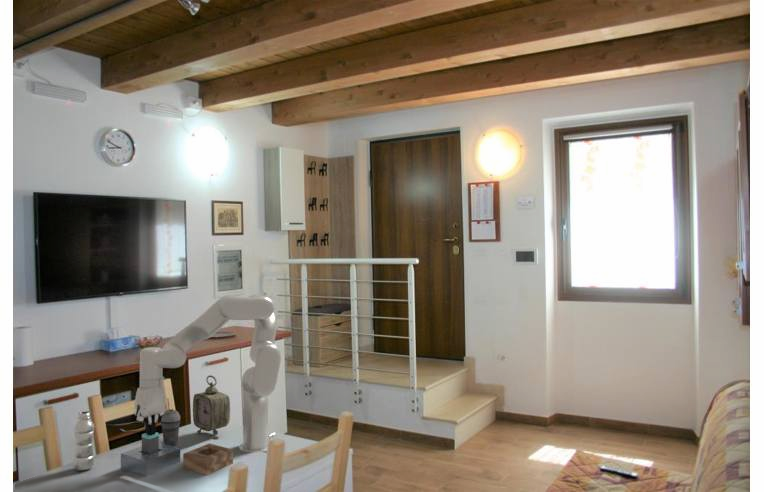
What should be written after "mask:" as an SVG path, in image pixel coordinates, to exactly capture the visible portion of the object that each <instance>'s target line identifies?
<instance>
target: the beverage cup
mask: <svg viewBox="0 0 764 492" xmlns="http://www.w3.org/2000/svg"><path fill="white" fill-rule="evenodd" d="M170 407H171V406H170V398H169V397H168V398H167V410H165V411H164V414H163V415H161V417H160V419H161V420H160V424H161V429H162V430H161V431H162V441H163V442H162V443H163V444H166V445H170V446H173V447H177V448H178V443H179V434H180V433H179V430H180V425H181V420H182V419H181V415H180V413H179V411H177V410H175V409H171V408H170Z"/></svg>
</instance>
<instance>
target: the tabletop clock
mask: <svg viewBox="0 0 764 492" xmlns="http://www.w3.org/2000/svg"><path fill="white" fill-rule="evenodd" d="M209 378H212V379H213V380H214V381H215V382H214V383H215V384H214V383H213V382H212V381H211V382H209V380H208V379H209ZM205 379H206V383H207V385H209V386H208V387H206V389H205V390H204V391H203V392H199V393H195V394H194V395H193V401H192V402H193V403H192V420H193V425H194V426H195V427H196V428H198V430H197V431H196V434H198V435H200V434H201V433H202V431H205V432H212V436H211V440H214V441H215V440H216V438H217V437H216V435H217V434H218V433H219V431H218V429H219V430H220V429H223V428H225V427H227V426H228V425H229V423H230V420H231V400H230V396H228V395H227V394H226V393H223V392H220V391H218V388H217V387H216V385H217V378H216V377H215V376H213V375H211V374H210V375H207V377H206V378H205Z"/></svg>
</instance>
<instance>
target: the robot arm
mask: <svg viewBox="0 0 764 492" xmlns="http://www.w3.org/2000/svg"><path fill="white" fill-rule="evenodd" d="M230 320H231V321H245V320H246V321H251V320H252V321H253V322H254V329H253V336H252V340H251V345H250V350H249V357H250V359H251V361H252V362H253V363H254V366H251V367H249V368H247V369H246V370H245V371H244V372H243V375H242V377H241V389H242V402H243V404H242V405H243V406H242V443H241V444H239V446H238V449H239V450H240V451H242V452H246V453H259V452H262V453H267V452H268V451H267V444H268V441H269V442H270V440H271V439H274V438H276V435H277V434H276V433H275V432H271V433H269V396H270V395H272V393H274V391H275V389H276V385H277V381H278V376H279V372H280V366H281V361H282V360H281V359H282V357H281V356H282V355H281V351H280V349H279V347H278V346H277V345H276V344H275V341H276V335H277V334H276V333H277V329H278V328H277V326H278V324H277V322H278V321H277V317H276V313H275V304H274V301H273V300H272V299H271V298H270V297H267V296H264V295H261V294H257V293H255V294H251V295H250V296H248V297H247V296H246V297H241V296H238V297H237V296H234V295H229V294H225V295H223V296H221V297H220V298H219V299H217V300H216V301H215V302H214V303H213V304H212V305H211V306H210V307H209V308H208V309H206V310H205V311H204V312H203V313H202V314H201V315H200V316H199V317H198V318H196V319H195V320H194V321H192V322H191V323H190V324H188V325H187V326H185V327H184V328H182V329H181V330H180V331H178V332H177V333H176V334H175V335H173V337H171V338H170V340H168V341H167V342H166V343H165V344H164V345H163V347H157V346H152V347H151V346H150V347H145V348H142V349H141V350H140V352H139V387H138V388H137V390H136V393H135V397H134V398H135V399H134V409H133V411H134V416H135V417H136V421H137V422H143V423H144V424H145V433H146V434H148V435H153V434H155V433H157V432H156V431H157V429H156V428H157V423H158V420H159V419H160V418H161V417H162V415H163V414H164V413H165V411H166V405H167V404H166V402H167V401H166V391H165V386H164V384H163V381H165V376H163V371H164V370H163V369H177V368H180V367H182V366H183V365H184V364H185V363H186V361H187V354H186V352H187V351H188V350H190V348H191V347H193V346H195V345H196V344H197V343H199V342H202V341H205V340H207V339H209V338H211V337H213V336H214V335H215V334H217V332H218V331H219V330H221V328H224V327H223V326H225V325H226V324H227V323H228V322H229V321H230Z"/></svg>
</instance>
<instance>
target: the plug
mask: <svg viewBox="0 0 764 492" xmlns="http://www.w3.org/2000/svg"><path fill="white" fill-rule="evenodd" d="M159 435H160V433H159V432H156V433H155V434H153V435H148V434H146V432H145V433H142V434H141V446H142V453H145V454H148V455H151V454H153V453H156V452H159V443H160V442H159V441H160V440H159V439H160V436H159Z"/></svg>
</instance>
